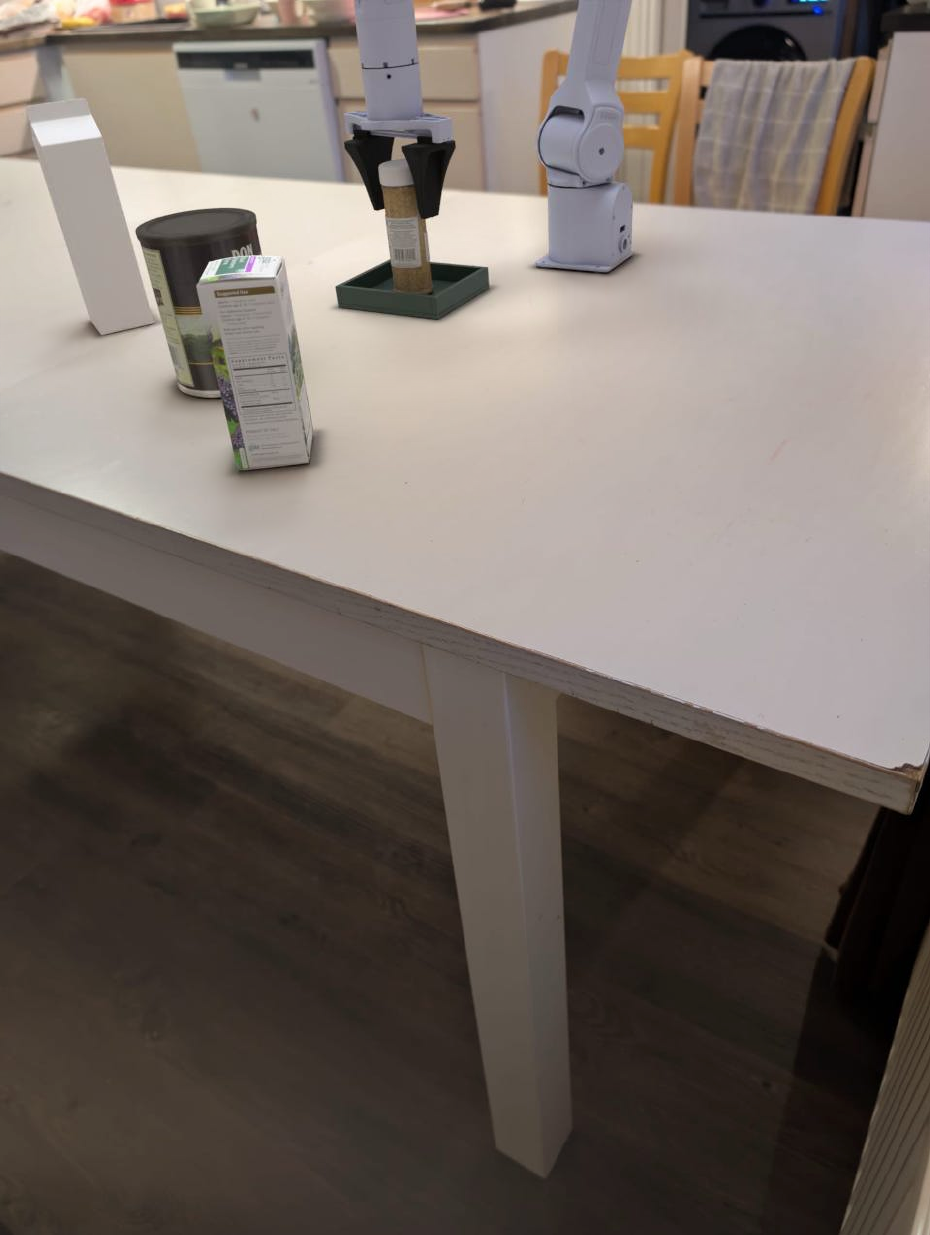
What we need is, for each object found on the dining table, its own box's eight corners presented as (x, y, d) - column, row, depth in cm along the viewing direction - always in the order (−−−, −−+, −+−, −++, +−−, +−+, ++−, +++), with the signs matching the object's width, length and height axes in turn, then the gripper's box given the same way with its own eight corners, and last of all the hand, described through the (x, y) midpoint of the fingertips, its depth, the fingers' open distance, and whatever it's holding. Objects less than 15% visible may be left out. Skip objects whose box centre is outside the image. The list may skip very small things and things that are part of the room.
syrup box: (245, 440, 75) (202, 259, 66) (316, 433, 75) (283, 251, 66) (237, 472, 70) (190, 281, 62) (313, 464, 70) (277, 273, 62)
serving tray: (489, 287, 103) (488, 267, 102) (437, 319, 96) (435, 297, 94) (394, 277, 109) (391, 258, 108) (338, 307, 102) (335, 286, 100)
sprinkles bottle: (441, 288, 102) (429, 158, 94) (419, 301, 99) (405, 167, 91) (407, 285, 105) (393, 156, 96) (385, 297, 101) (369, 165, 93)
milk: (155, 324, 102) (93, 100, 88) (100, 336, 100) (28, 109, 86) (142, 310, 106) (81, 94, 93) (89, 321, 104) (20, 103, 91)
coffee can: (307, 365, 88) (279, 210, 79) (233, 406, 81) (194, 241, 73) (230, 351, 92) (196, 203, 84) (154, 388, 86) (109, 231, 77)
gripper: (313, 69, 91) (334, 213, 99) (408, 72, 82) (423, 229, 91) (367, 59, 95) (383, 199, 103) (463, 62, 86) (473, 214, 94)
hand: (405, 212), depth 97 cm, fingers open, 7 cm apart
